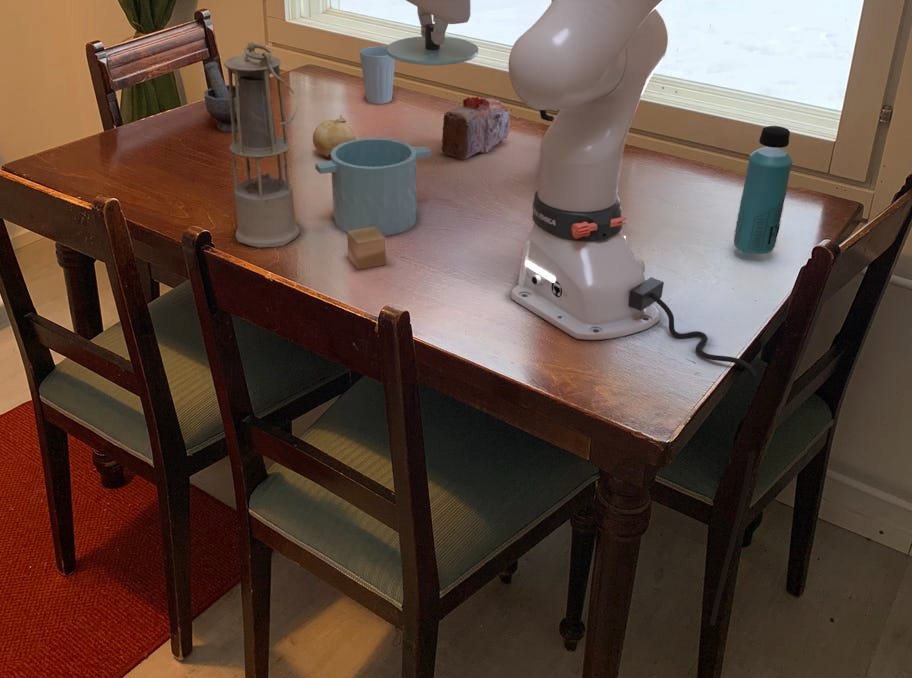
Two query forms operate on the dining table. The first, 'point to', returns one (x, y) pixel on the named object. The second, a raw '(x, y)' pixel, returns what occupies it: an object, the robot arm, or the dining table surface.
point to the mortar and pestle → (220, 99)
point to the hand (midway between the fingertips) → (432, 40)
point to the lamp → (260, 152)
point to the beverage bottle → (764, 193)
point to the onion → (331, 135)
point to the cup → (377, 74)
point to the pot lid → (432, 50)
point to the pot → (374, 184)
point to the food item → (474, 127)
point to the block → (366, 248)
